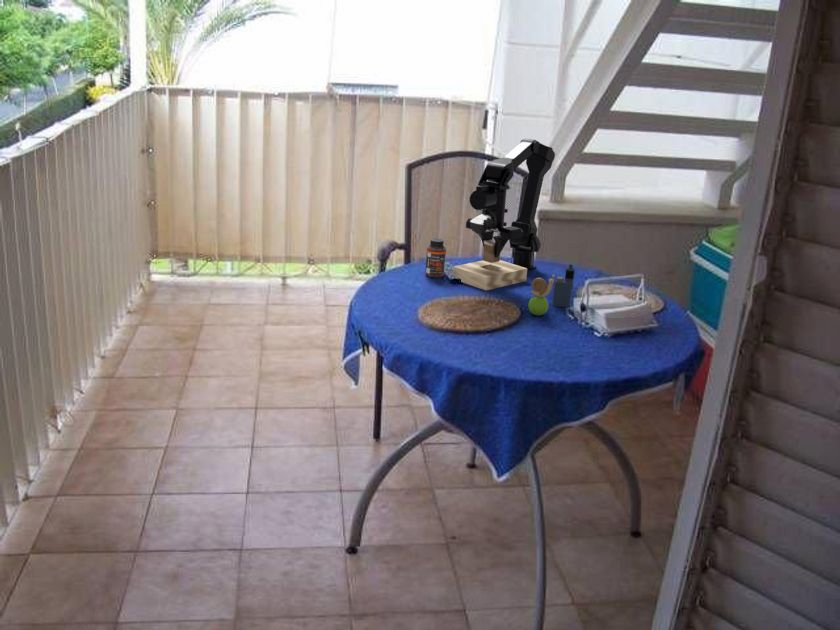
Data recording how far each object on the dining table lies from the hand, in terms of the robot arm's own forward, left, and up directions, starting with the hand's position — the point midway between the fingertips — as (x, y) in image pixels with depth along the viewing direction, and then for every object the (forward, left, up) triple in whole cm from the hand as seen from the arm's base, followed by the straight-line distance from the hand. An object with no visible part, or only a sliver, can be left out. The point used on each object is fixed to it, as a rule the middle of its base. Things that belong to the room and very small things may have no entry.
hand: (491, 255), depth 252 cm
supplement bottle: (+11, -13, -8) cm, 19 cm away
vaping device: (+1, +29, -8) cm, 30 cm away
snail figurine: (+13, +31, -8) cm, 35 cm away
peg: (0, 0, -2) cm, 2 cm away
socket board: (0, 0, -8) cm, 8 cm away
